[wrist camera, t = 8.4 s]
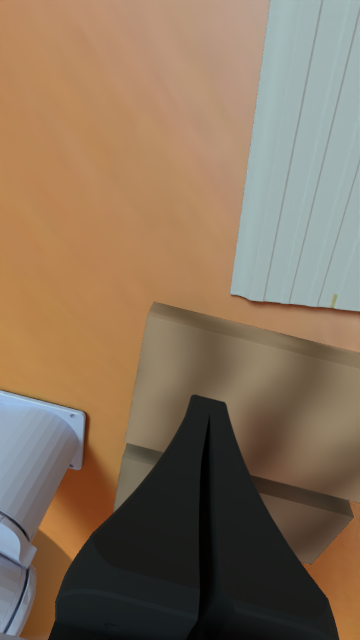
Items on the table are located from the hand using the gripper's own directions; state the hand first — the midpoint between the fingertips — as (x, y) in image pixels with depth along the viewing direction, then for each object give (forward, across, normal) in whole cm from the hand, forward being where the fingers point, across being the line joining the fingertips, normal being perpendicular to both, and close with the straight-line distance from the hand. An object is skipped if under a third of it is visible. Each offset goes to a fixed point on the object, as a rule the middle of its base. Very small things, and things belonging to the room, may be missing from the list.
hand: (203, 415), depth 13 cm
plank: (+10, -6, +7) cm, 13 cm away
